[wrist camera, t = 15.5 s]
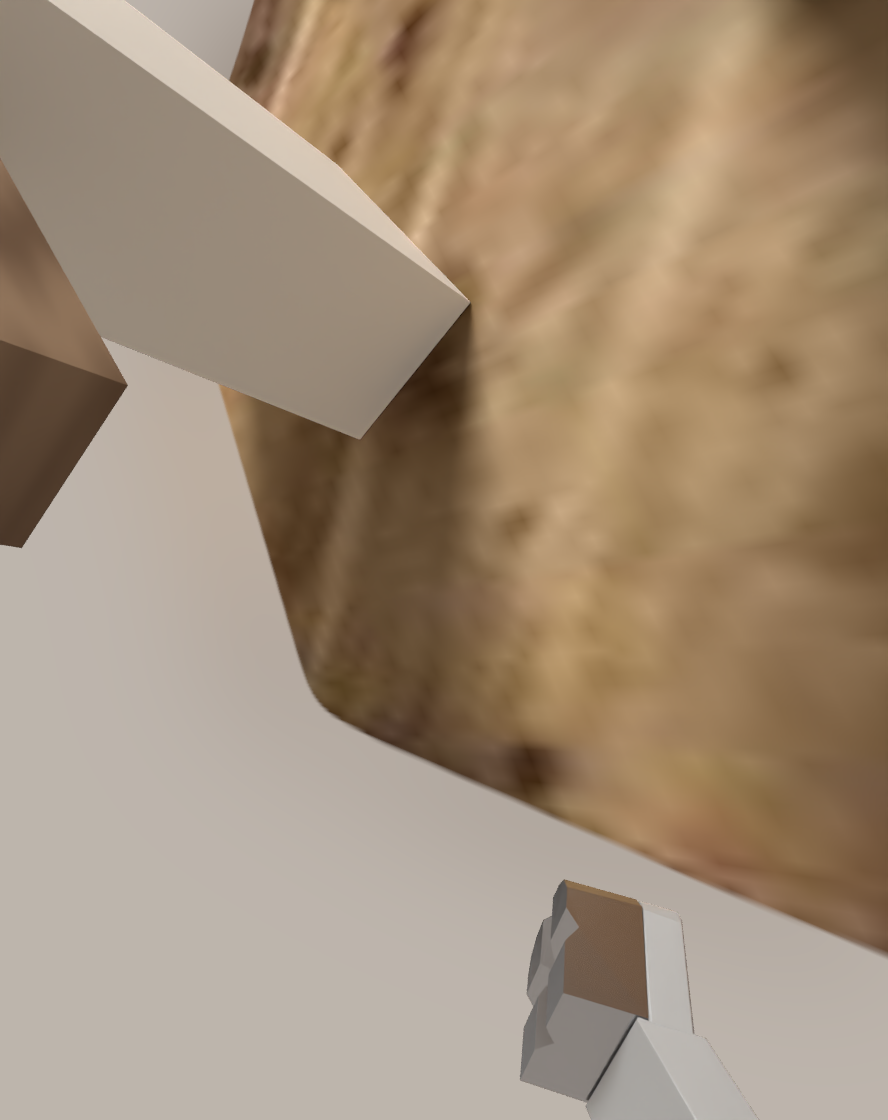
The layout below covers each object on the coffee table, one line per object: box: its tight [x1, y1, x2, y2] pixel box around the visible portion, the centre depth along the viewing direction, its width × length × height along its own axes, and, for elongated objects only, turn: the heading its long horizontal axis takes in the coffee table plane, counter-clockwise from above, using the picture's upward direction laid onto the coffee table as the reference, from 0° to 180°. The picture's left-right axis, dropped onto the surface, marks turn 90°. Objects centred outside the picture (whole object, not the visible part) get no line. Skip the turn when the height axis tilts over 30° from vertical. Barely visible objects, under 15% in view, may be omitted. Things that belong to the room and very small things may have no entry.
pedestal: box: [0, 0, 470, 440], centre depth 40 cm, size 16×10×26 cm, turn 40°
